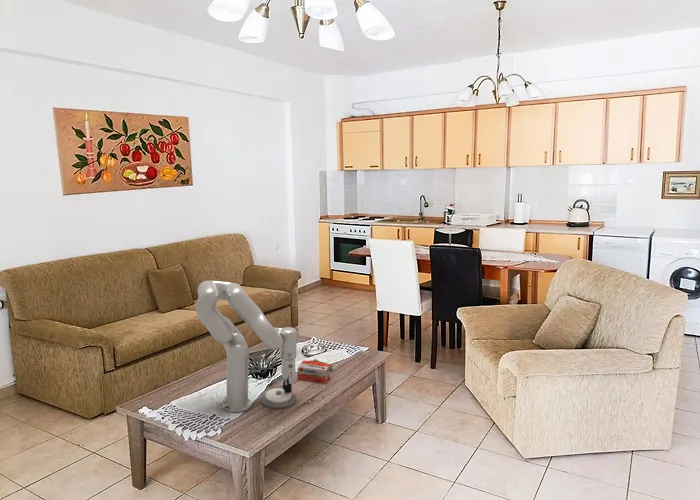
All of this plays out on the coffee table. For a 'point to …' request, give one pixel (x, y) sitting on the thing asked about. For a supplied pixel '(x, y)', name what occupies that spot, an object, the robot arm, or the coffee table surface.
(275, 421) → the coffee table surface
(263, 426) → the coffee table surface
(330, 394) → the coffee table surface
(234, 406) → the robot arm
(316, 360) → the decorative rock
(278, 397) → the dial disc
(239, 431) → the coffee table surface
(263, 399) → the dial base
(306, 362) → the medicine box
